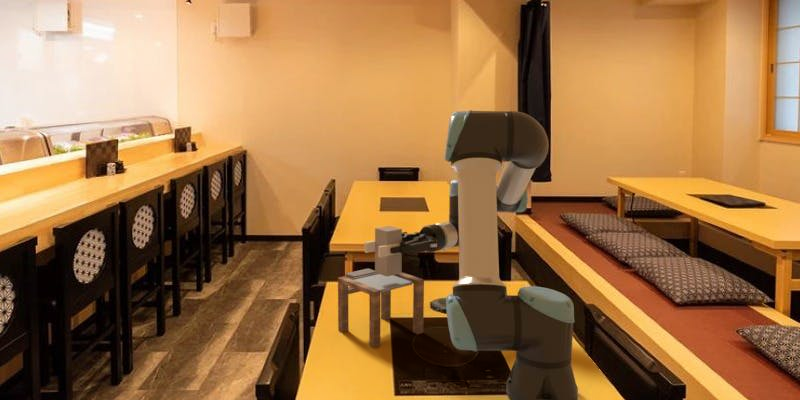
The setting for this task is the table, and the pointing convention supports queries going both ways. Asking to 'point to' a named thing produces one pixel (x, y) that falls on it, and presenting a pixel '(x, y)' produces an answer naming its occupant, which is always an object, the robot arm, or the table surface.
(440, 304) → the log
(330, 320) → the table surface
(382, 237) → the granite block
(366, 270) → the flap
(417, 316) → the trapdoor frame
